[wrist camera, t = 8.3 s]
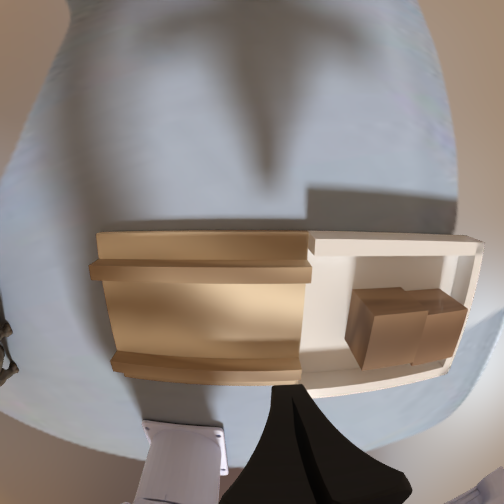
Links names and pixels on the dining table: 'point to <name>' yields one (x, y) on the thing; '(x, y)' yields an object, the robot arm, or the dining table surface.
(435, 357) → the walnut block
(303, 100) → the dining table surface
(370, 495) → the robot arm
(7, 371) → the rhino figurine
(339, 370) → the cream tray
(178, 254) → the slot board
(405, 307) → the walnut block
